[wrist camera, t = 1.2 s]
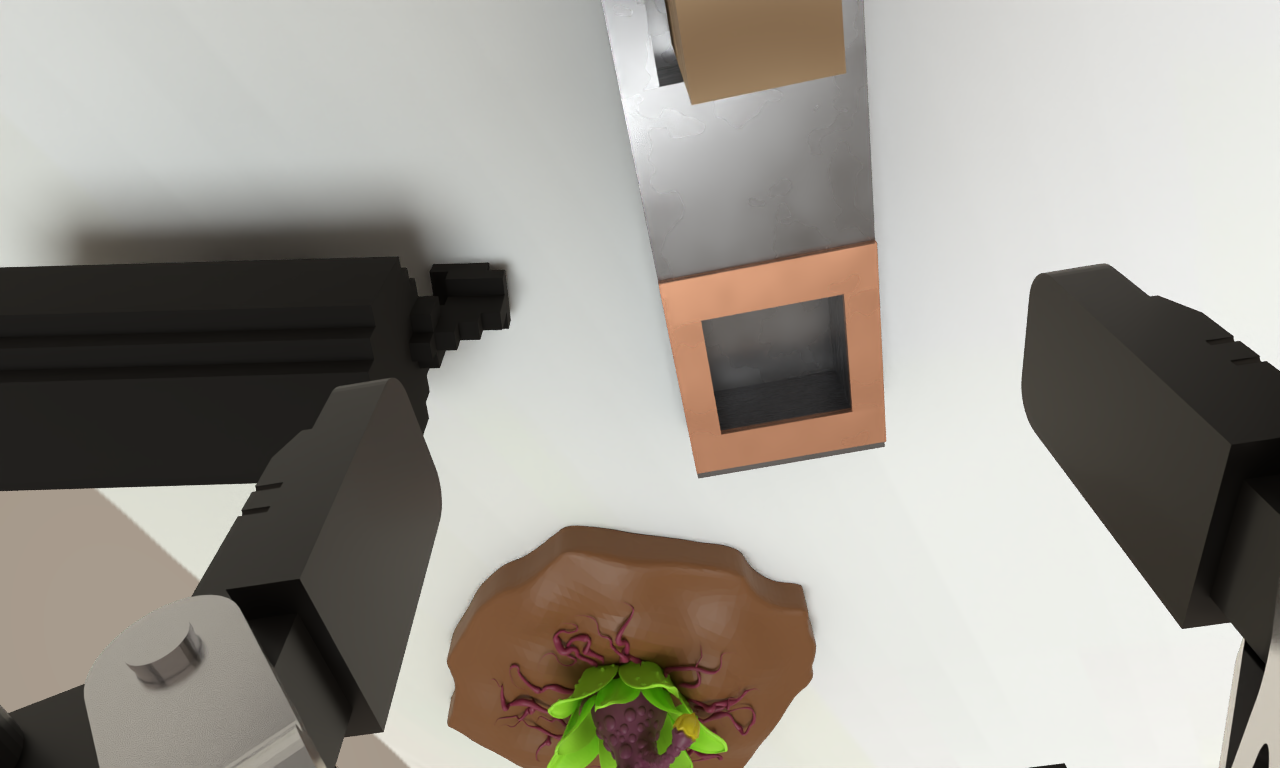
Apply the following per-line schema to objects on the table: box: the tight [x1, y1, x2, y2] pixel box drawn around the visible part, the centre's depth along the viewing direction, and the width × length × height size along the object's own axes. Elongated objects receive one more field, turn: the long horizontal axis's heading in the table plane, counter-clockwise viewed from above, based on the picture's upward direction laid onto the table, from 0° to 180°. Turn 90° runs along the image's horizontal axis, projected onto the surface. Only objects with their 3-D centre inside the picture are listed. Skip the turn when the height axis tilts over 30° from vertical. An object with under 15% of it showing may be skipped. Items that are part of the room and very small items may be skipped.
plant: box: [447, 526, 816, 768], centre depth 43 cm, size 20×20×11 cm
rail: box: [601, 0, 886, 478], centre depth 30 cm, size 24×8×4 cm, turn 11°
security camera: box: [0, 257, 511, 491], centre depth 31 cm, size 7×18×10 cm, turn 91°
